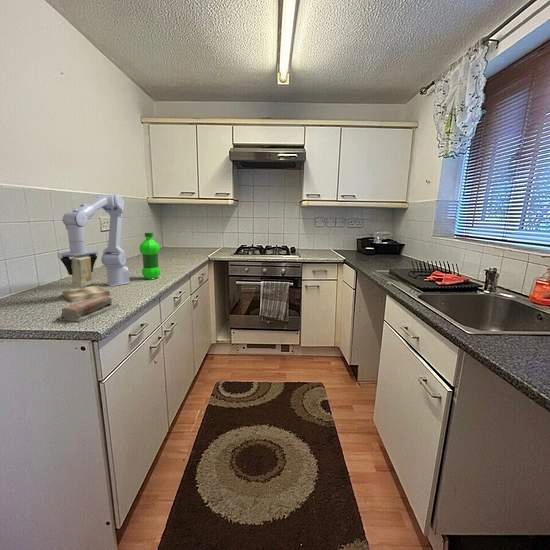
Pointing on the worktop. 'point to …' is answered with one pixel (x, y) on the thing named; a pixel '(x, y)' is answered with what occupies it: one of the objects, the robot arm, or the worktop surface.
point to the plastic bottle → (150, 257)
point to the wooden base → (85, 293)
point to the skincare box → (81, 271)
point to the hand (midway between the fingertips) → (80, 273)
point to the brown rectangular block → (87, 309)
